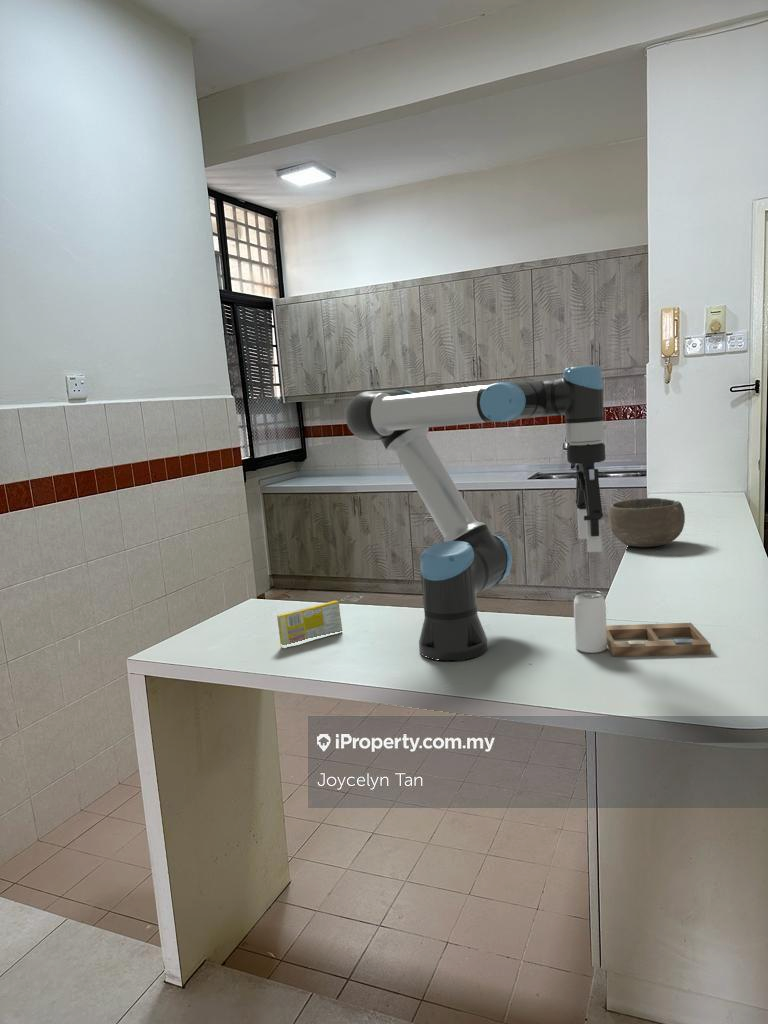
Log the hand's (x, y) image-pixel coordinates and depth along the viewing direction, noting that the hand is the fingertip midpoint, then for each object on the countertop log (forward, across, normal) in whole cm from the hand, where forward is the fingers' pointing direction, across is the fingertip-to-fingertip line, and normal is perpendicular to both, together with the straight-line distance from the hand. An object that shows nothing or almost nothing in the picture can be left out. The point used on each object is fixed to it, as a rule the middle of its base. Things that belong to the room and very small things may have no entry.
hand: (589, 545), depth 146 cm
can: (+23, 0, +1) cm, 23 cm away
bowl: (+23, +100, -33) cm, 108 cm away
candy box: (+23, +12, +65) cm, 70 cm away
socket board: (+22, +2, -12) cm, 26 cm away
